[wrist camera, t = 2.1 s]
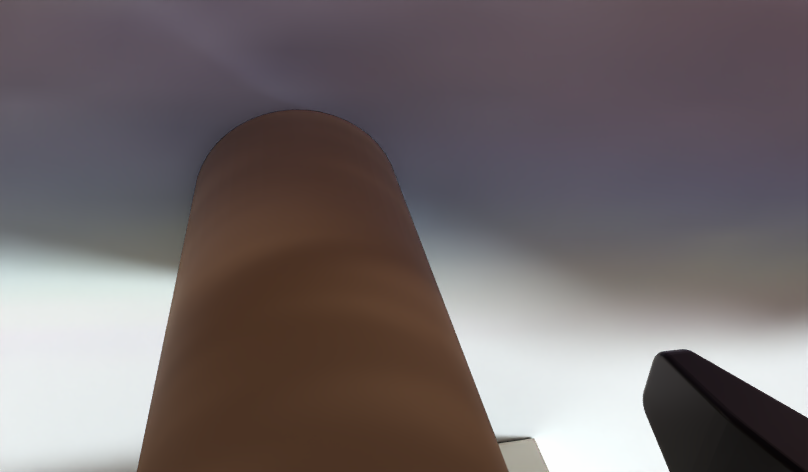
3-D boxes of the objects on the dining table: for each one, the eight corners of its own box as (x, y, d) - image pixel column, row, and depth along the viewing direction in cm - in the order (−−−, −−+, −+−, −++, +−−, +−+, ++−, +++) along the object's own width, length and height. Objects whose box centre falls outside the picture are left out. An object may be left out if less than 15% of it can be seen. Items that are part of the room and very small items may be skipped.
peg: (399, 105, 12) (629, 562, 4) (396, 277, 14) (548, 787, 6) (177, 115, 11) (-5, 676, 4) (210, 295, 13) (137, 884, 6)
